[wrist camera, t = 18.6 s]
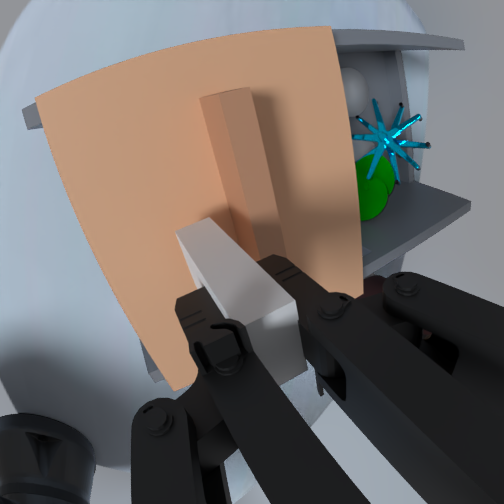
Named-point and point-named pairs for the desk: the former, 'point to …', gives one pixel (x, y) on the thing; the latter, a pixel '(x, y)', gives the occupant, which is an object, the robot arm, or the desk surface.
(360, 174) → the stick construction toy
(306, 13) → the desk surface
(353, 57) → the housing
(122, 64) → the lid
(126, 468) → the desk surface
